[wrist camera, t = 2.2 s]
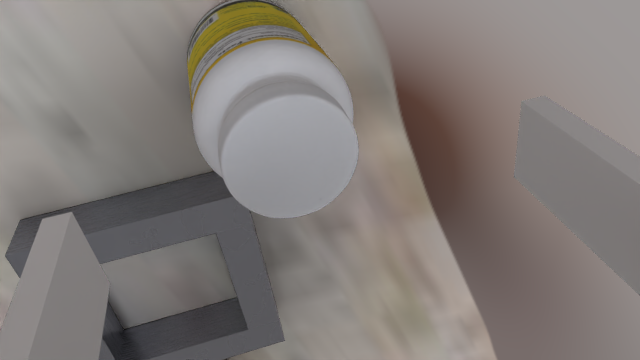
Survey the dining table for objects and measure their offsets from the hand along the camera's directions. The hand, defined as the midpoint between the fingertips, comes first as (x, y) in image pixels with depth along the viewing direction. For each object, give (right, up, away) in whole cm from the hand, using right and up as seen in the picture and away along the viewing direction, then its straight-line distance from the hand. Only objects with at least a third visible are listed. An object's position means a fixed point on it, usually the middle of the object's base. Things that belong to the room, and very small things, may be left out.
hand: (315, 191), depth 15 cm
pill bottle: (-4, +7, +11) cm, 13 cm away
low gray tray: (-9, -9, +20) cm, 23 cm away
